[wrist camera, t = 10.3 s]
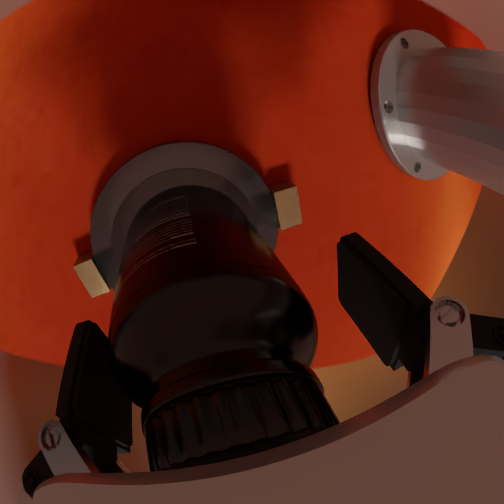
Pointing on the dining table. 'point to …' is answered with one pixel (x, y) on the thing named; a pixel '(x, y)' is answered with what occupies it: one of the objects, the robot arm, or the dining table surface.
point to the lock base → (172, 175)
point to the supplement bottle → (211, 335)
